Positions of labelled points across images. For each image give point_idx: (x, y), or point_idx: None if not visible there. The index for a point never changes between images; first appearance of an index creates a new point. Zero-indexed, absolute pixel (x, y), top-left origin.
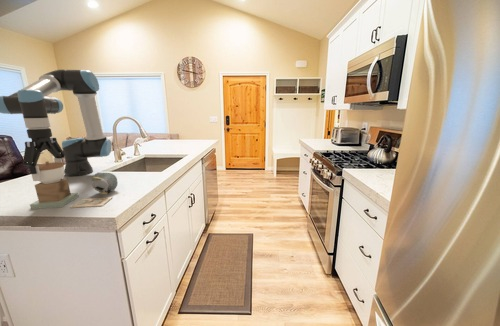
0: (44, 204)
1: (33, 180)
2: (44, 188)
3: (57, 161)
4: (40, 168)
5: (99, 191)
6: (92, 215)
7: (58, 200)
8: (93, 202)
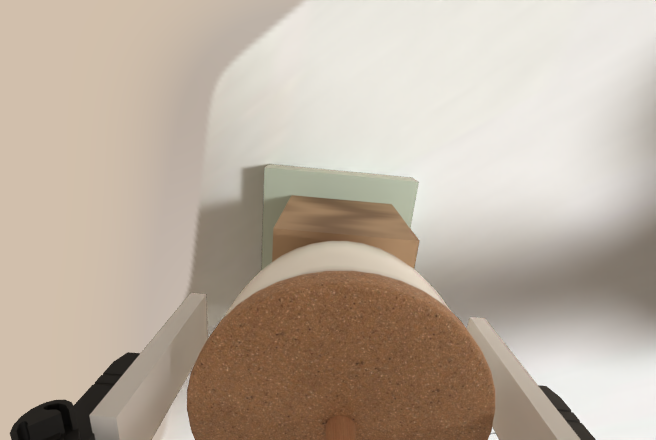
0: (263, 234)
1: (189, 297)
2: None
3: (527, 437)
4: (191, 425)
5: None
6: (169, 423)
7: None
8: None
